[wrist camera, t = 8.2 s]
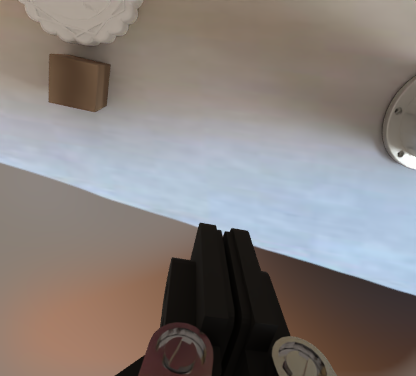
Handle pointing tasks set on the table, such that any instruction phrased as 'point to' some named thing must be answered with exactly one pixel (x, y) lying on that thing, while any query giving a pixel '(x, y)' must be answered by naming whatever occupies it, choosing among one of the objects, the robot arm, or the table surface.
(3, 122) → the table surface
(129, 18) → the mooncake
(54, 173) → the table surface
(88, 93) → the walnut block
